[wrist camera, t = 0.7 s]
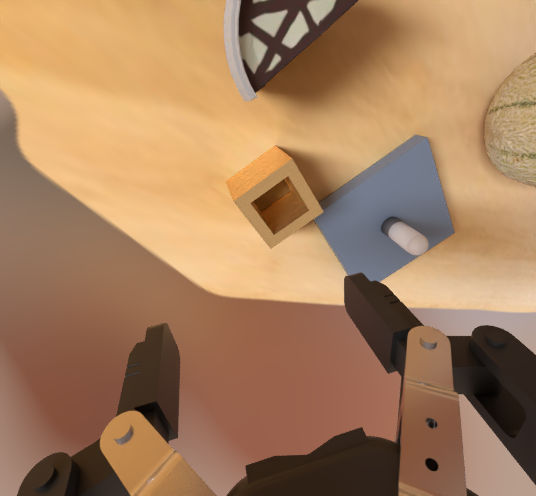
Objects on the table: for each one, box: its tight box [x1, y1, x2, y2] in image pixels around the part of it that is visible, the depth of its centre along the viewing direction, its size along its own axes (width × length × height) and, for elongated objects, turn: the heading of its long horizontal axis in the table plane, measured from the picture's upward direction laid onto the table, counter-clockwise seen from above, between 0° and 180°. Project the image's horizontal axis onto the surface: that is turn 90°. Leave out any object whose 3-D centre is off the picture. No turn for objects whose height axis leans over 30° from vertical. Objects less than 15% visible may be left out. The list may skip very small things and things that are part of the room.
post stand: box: [313, 135, 455, 282], centre depth 35 cm, size 15×15×8 cm
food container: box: [224, 0, 358, 101], centre depth 21 cm, size 12×6×10 cm, turn 127°
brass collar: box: [226, 146, 323, 248], centre depth 31 cm, size 6×6×6 cm
